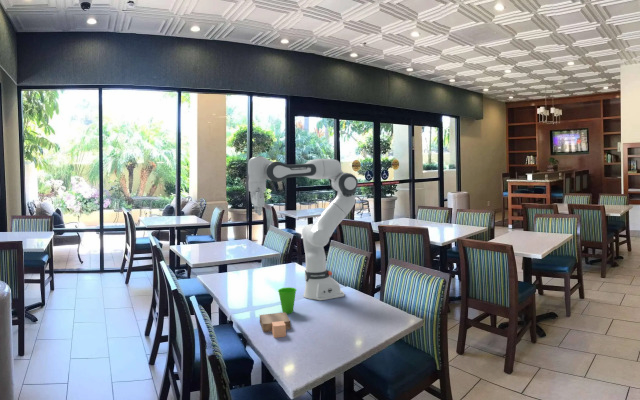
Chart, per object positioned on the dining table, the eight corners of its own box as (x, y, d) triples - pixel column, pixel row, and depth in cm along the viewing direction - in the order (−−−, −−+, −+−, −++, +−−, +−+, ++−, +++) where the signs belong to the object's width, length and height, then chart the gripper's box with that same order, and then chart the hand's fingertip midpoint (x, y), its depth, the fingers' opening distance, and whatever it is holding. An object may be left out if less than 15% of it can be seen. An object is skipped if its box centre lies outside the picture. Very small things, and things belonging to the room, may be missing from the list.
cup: (276, 310, 212) (275, 288, 211) (294, 307, 215) (293, 286, 214) (281, 316, 204) (280, 293, 203) (299, 313, 207) (298, 291, 206)
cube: (283, 332, 184) (283, 320, 184) (285, 336, 179) (285, 325, 179) (272, 333, 183) (271, 322, 182) (274, 338, 178) (273, 326, 178)
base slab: (285, 320, 199) (285, 312, 199) (290, 329, 187) (290, 321, 187) (259, 323, 196) (259, 314, 196) (263, 333, 184) (263, 324, 184)
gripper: (266, 188, 211) (267, 216, 212) (260, 186, 231) (261, 212, 232) (254, 188, 210) (255, 216, 211) (248, 187, 229) (249, 212, 230)
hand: (258, 214), depth 221 cm, fingers open, 8 cm apart
